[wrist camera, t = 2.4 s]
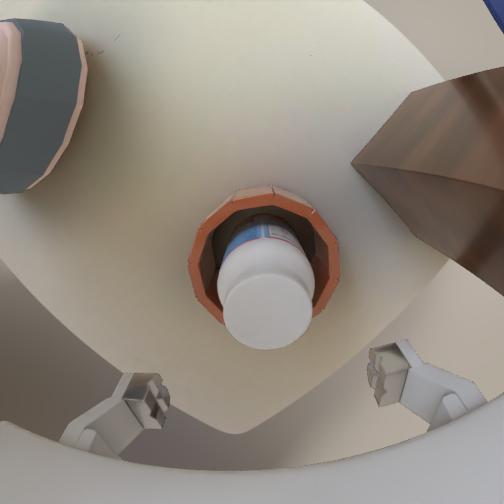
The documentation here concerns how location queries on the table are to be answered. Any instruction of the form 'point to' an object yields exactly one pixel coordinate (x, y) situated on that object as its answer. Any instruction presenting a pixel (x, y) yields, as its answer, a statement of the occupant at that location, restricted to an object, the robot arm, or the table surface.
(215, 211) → the desk pot
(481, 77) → the riser
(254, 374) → the table surface
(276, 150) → the table surface
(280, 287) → the pill bottle
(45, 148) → the desk lamp
